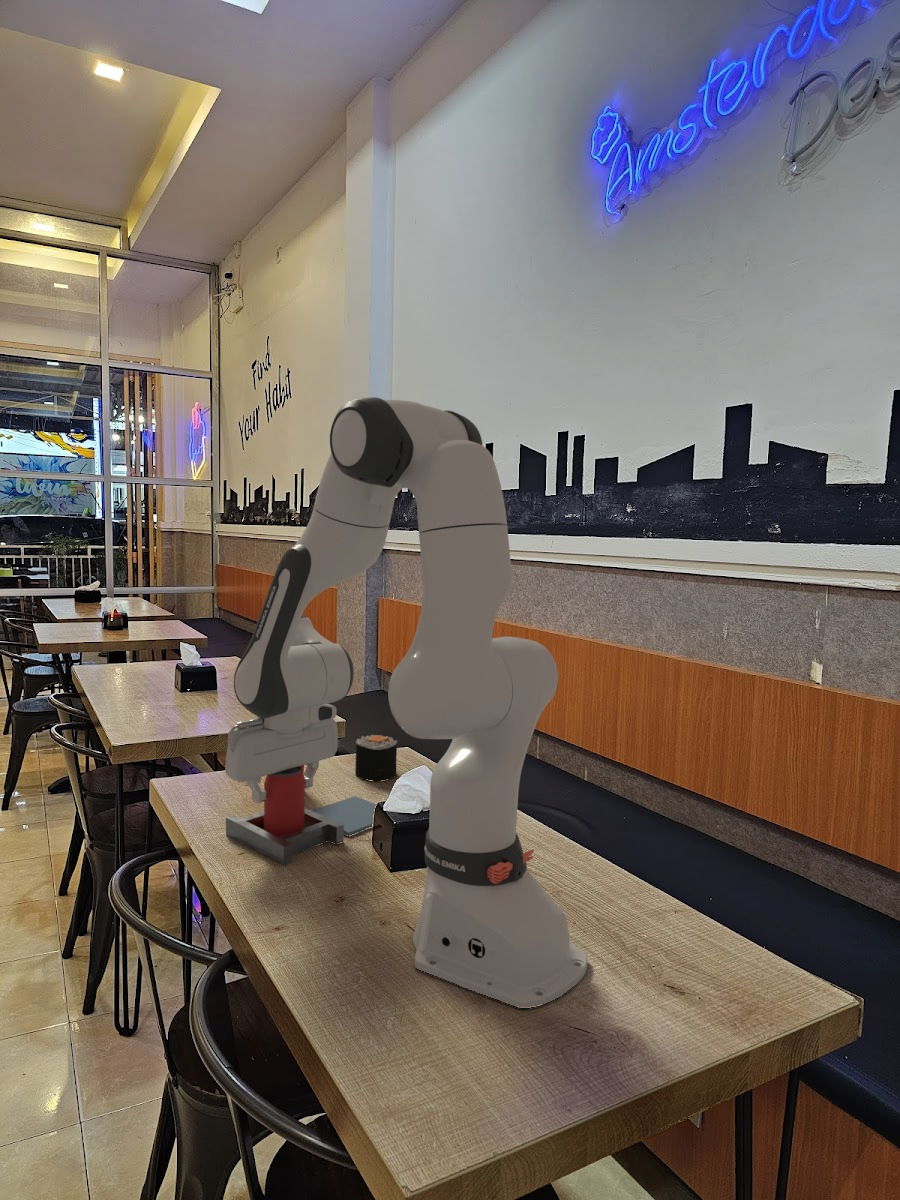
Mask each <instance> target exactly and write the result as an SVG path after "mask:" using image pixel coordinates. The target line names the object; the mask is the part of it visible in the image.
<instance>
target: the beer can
mask: <svg viewBox="0 0 900 1200" xmlns="http://www.w3.org/2000/svg"><path fill="white" fill-rule="evenodd" d="M263 783H264V784H263V785H264V786H263V788H264V789H263V790H265V791H266V796H265V797H266V801H263V807H264V808H263V811H264V830H265V831H267V832H269V833H271V834H273V835H275V836H277V837H280V836H283V835H286V834H289V833H292V832H295V831H297V830H300V829H303V828H304V820H305V808H306V807H305V805H306V804H305V800H306V799H305V798H306V794H305V793H306V789H305V779H304V774H303V773H302V768H301V767H300V766H298V767H295V768H291V769H287V770H284V771H280V772H276V773H273V774H269V775H266V777H265V779H264V782H263Z"/></svg>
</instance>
